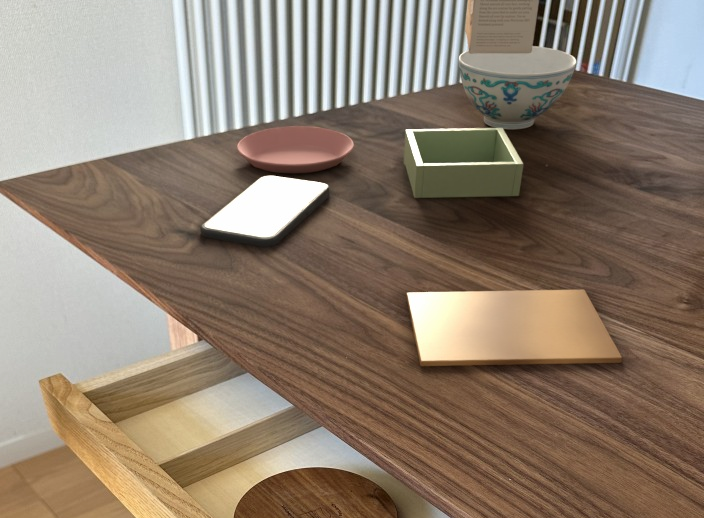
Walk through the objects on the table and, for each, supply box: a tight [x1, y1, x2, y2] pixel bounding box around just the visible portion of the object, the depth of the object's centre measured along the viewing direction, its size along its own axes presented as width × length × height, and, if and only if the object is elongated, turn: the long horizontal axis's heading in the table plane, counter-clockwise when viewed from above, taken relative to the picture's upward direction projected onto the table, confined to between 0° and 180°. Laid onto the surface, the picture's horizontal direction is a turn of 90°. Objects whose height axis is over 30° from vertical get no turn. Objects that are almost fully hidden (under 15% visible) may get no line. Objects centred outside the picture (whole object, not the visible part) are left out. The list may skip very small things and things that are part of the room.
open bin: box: [403, 127, 524, 199], centre depth 98 cm, size 12×13×4 cm
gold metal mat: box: [405, 289, 623, 367], centre depth 72 cm, size 16×12×1 cm
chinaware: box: [458, 45, 578, 130], centre depth 113 cm, size 15×15×8 cm
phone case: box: [200, 175, 331, 248], centre depth 91 cm, size 9×2×16 cm
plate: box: [236, 125, 355, 174], centre depth 105 cm, size 14×14×2 cm
